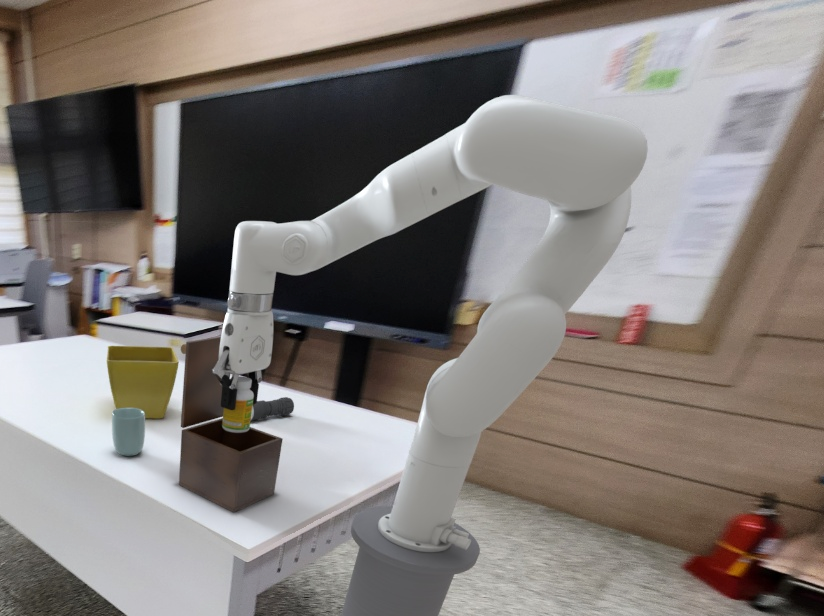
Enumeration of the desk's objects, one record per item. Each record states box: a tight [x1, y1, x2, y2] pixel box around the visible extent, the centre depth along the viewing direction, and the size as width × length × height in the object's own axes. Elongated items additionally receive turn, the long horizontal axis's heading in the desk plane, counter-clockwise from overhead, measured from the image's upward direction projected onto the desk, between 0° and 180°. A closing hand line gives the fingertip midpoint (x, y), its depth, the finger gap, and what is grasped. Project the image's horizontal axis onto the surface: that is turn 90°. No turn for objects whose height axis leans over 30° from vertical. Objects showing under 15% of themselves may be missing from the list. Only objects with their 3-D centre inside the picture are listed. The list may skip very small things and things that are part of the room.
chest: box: [178, 417, 284, 513], centre depth 106 cm, size 16×13×12 cm
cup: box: [111, 408, 146, 457], centre depth 122 cm, size 8×8×10 cm
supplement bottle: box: [222, 375, 254, 433], centre depth 99 cm, size 5×5×10 cm
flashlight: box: [251, 396, 295, 422], centre depth 148 cm, size 15×5×5 cm, turn 117°
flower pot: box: [106, 345, 180, 419], centre depth 147 cm, size 19×19×17 cm
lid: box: [180, 336, 231, 429], centre depth 105 cm, size 17×13×6 cm
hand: (238, 404), depth 99 cm, fingers closed on supplement bottle, 5 cm apart
